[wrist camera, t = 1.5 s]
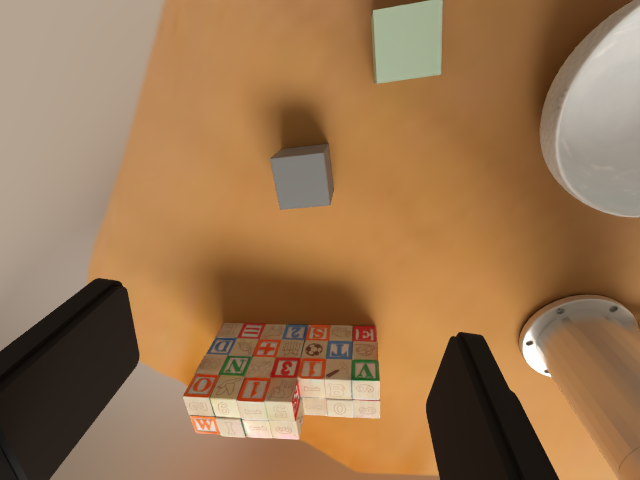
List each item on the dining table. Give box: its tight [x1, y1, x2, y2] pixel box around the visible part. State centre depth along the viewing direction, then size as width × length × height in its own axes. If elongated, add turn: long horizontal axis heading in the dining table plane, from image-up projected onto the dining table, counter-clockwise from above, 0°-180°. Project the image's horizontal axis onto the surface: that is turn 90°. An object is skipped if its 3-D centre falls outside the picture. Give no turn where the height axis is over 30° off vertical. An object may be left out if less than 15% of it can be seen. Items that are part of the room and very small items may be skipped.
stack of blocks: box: [183, 323, 380, 439], centre depth 41 cm, size 21×6×12 cm, turn 94°
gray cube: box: [270, 144, 334, 210], centre depth 33 cm, size 5×5×5 cm
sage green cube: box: [371, 0, 443, 84], centre depth 28 cm, size 5×5×5 cm
